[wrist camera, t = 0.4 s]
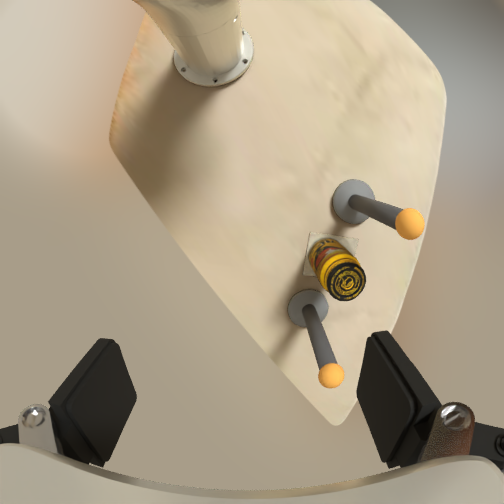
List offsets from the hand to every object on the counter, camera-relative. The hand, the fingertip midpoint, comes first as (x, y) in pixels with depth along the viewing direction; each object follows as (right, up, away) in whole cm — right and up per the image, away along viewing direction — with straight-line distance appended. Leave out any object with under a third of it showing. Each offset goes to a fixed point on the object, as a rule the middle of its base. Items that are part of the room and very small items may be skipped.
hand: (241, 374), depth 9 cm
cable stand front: (+17, +13, +33) cm, 39 cm away
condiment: (+13, +4, +36) cm, 38 cm away
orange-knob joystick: (+10, -5, +38) cm, 40 cm away
